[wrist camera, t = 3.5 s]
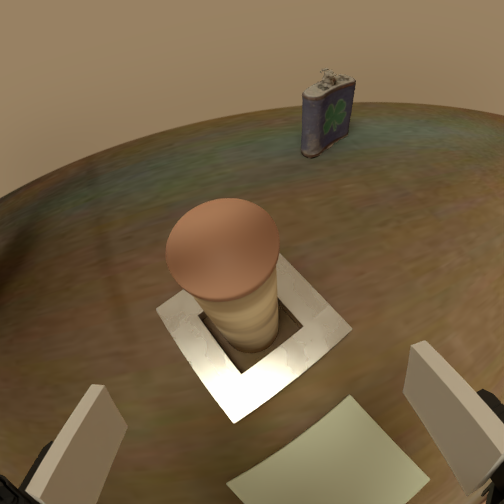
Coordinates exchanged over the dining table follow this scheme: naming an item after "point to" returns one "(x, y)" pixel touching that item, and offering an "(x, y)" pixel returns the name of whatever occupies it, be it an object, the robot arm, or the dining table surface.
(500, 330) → the dining table surface
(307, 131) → the flask
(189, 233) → the plug
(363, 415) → the mat
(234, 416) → the socket
